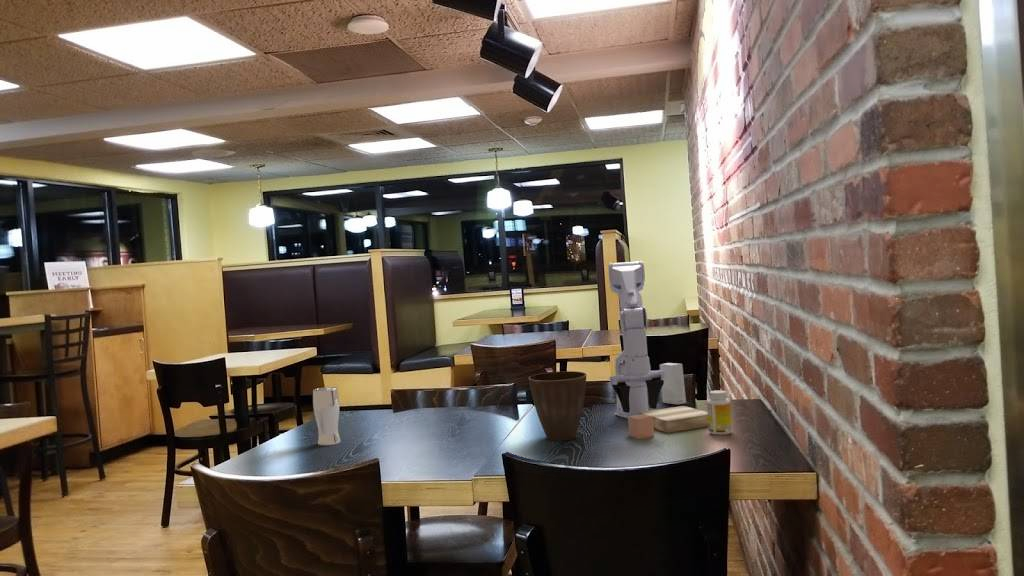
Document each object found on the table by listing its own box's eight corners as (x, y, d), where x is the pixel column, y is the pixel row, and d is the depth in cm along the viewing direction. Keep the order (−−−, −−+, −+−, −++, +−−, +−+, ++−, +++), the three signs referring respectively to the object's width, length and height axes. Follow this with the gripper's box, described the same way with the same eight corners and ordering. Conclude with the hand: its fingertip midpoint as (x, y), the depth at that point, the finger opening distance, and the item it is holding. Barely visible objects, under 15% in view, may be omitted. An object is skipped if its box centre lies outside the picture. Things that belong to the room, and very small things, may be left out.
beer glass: (319, 447, 191) (315, 392, 191) (313, 443, 198) (309, 389, 197) (345, 443, 195) (340, 388, 194) (338, 438, 201) (334, 385, 201)
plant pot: (601, 438, 178) (596, 375, 178) (546, 447, 173) (541, 382, 173) (575, 428, 192) (571, 369, 192) (524, 436, 187) (519, 375, 187)
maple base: (639, 423, 193) (638, 412, 193) (683, 416, 197) (683, 405, 197) (667, 432, 180) (667, 420, 179) (714, 425, 184) (713, 413, 184)
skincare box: (686, 403, 217) (684, 363, 217) (676, 405, 215) (673, 365, 214) (672, 400, 222) (669, 362, 222) (661, 403, 220) (659, 363, 220)
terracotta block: (629, 436, 179) (627, 416, 179) (644, 433, 181) (643, 413, 181) (638, 439, 175) (636, 419, 175) (654, 436, 177) (652, 416, 177)
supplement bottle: (736, 432, 175) (734, 390, 175) (723, 436, 171) (720, 394, 171) (717, 429, 179) (714, 389, 179) (704, 433, 176) (701, 392, 176)
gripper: (617, 360, 172) (621, 416, 172) (669, 354, 177) (673, 408, 177) (604, 357, 178) (608, 411, 178) (654, 352, 183) (658, 404, 183)
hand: (639, 410), depth 178 cm, fingers open, 7 cm apart
